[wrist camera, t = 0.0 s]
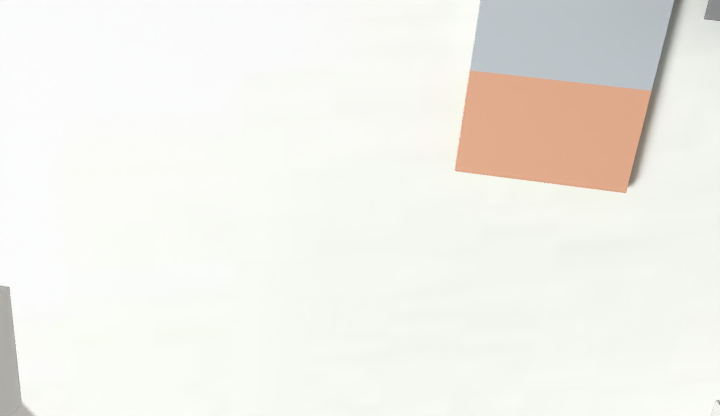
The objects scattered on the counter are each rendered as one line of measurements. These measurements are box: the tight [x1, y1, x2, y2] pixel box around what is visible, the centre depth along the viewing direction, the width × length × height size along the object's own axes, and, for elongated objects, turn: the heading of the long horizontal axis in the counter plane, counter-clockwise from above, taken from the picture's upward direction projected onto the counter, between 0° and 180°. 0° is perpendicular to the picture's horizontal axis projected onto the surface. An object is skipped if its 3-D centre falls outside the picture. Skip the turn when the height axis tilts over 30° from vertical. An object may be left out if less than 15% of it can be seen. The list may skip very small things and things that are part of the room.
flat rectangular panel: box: [455, 0, 674, 193], centre depth 35 cm, size 18×10×1 cm, turn 175°
